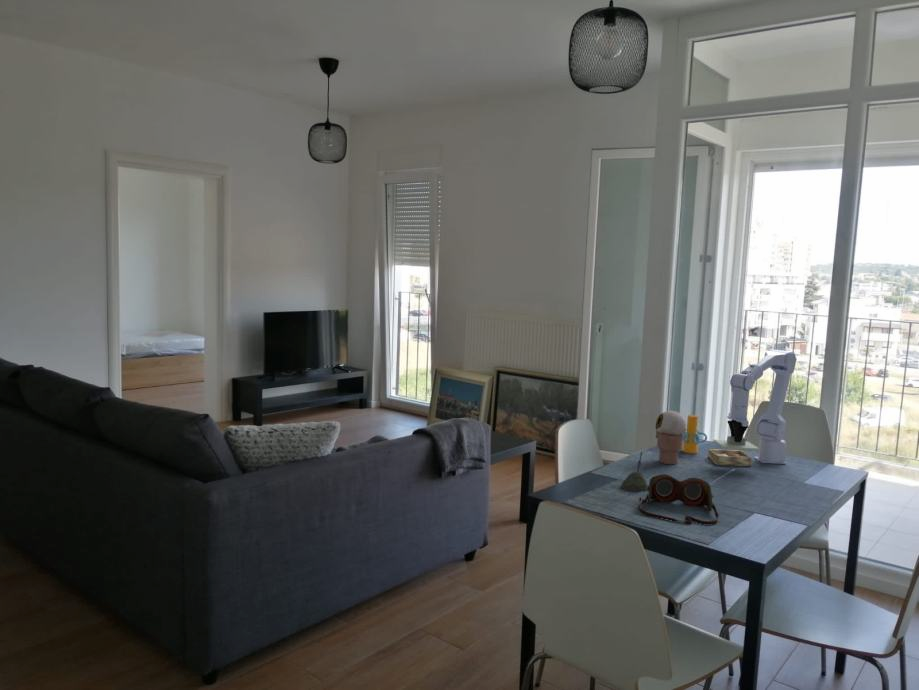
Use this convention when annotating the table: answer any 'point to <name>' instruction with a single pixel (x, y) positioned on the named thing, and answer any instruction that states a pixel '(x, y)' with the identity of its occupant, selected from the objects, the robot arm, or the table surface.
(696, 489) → the goggles
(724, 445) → the lid
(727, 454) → the crate
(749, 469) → the table surface
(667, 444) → the ice cream cone
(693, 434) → the yellow post with rings
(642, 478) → the sword in stone
